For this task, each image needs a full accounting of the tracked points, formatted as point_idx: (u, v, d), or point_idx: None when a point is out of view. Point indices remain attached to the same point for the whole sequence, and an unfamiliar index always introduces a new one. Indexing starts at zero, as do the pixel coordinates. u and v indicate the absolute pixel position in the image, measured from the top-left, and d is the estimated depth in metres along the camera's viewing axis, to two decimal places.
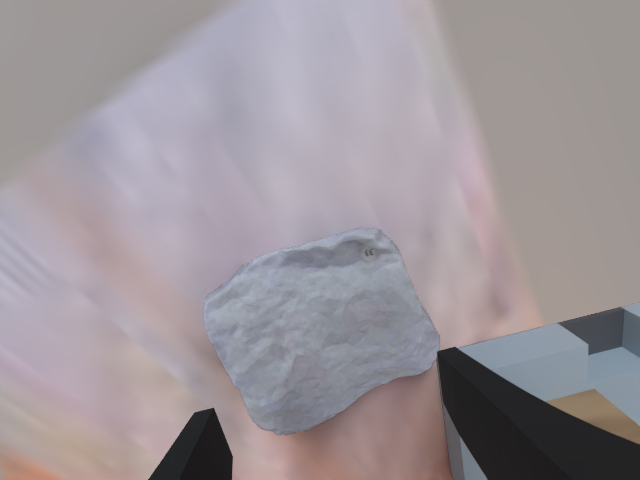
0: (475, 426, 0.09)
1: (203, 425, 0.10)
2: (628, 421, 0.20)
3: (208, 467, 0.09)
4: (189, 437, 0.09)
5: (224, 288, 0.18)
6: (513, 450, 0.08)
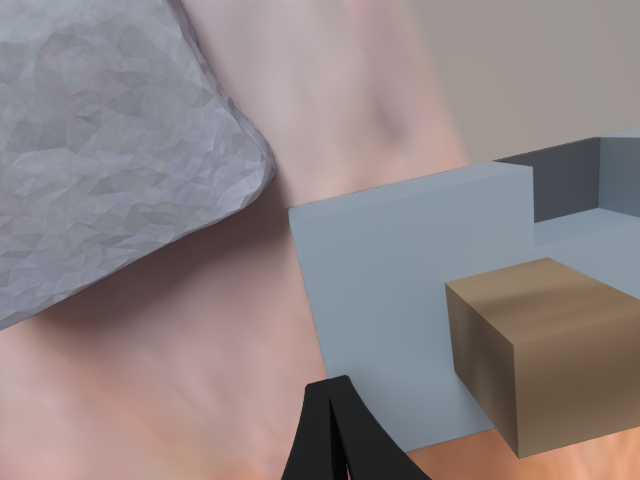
0: (346, 460, 0.09)
1: (326, 394, 0.10)
2: (601, 287, 0.11)
3: (336, 434, 0.09)
4: (318, 404, 0.09)
5: None
6: None
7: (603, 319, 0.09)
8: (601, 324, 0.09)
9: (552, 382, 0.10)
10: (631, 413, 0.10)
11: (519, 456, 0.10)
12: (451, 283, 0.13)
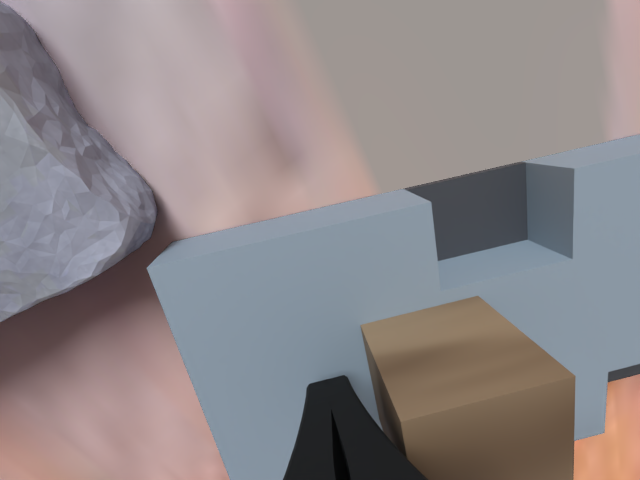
0: (345, 460, 0.09)
1: (328, 393, 0.10)
2: (521, 342, 0.09)
3: (337, 433, 0.09)
4: (319, 404, 0.09)
5: None
6: None
7: (510, 389, 0.08)
8: (507, 396, 0.08)
9: (454, 461, 0.08)
10: None
11: None
12: (366, 326, 0.11)
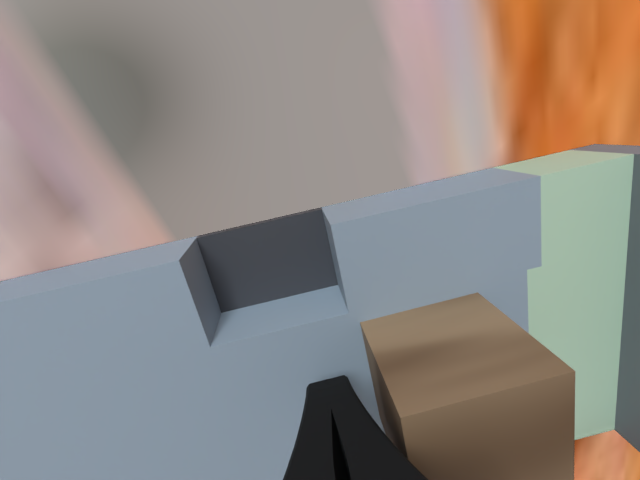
0: (345, 460, 0.09)
1: (328, 393, 0.10)
2: (521, 337, 0.09)
3: (337, 433, 0.09)
4: (319, 404, 0.09)
5: None
6: None
7: (511, 385, 0.08)
8: (507, 390, 0.08)
9: (454, 456, 0.08)
10: None
11: None
12: (366, 324, 0.11)
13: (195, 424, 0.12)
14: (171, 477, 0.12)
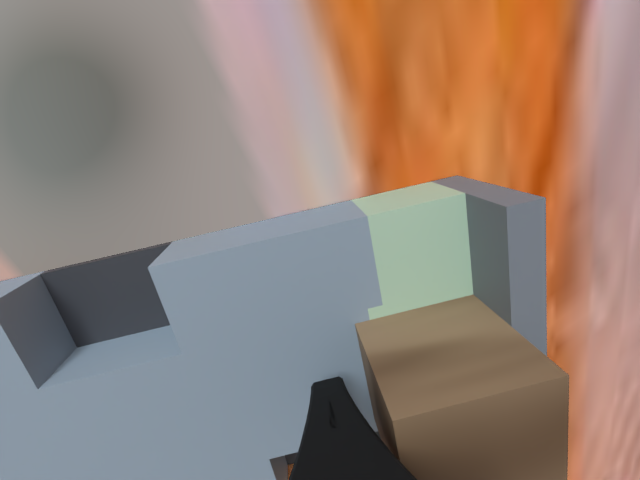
0: None
1: (333, 392, 0.10)
2: (515, 341, 0.09)
3: None
4: (325, 402, 0.09)
5: None
6: None
7: (504, 388, 0.08)
8: (500, 395, 0.08)
9: (447, 460, 0.08)
10: None
11: None
12: (361, 325, 0.11)
13: (34, 465, 0.12)
14: None
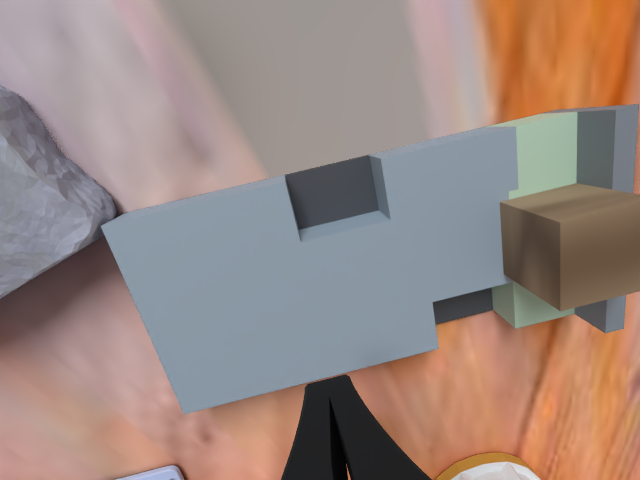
0: (346, 459, 0.09)
1: (326, 394, 0.10)
2: (618, 193, 0.15)
3: (336, 434, 0.09)
4: (318, 404, 0.09)
5: None
6: None
7: (621, 206, 0.14)
8: (619, 209, 0.14)
9: (585, 251, 0.14)
10: (639, 278, 0.15)
11: (560, 309, 0.15)
12: (505, 201, 0.17)
13: (287, 298, 0.18)
14: (269, 338, 0.18)
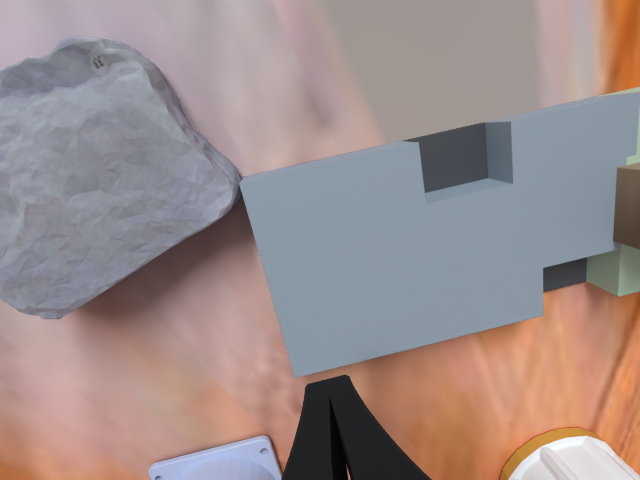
0: (347, 460, 0.09)
1: (326, 393, 0.10)
2: None
3: (336, 434, 0.09)
4: (318, 404, 0.09)
5: None
6: None
7: None
8: None
9: None
10: None
11: None
12: (623, 167, 0.18)
13: (407, 261, 0.18)
14: (384, 301, 0.19)
